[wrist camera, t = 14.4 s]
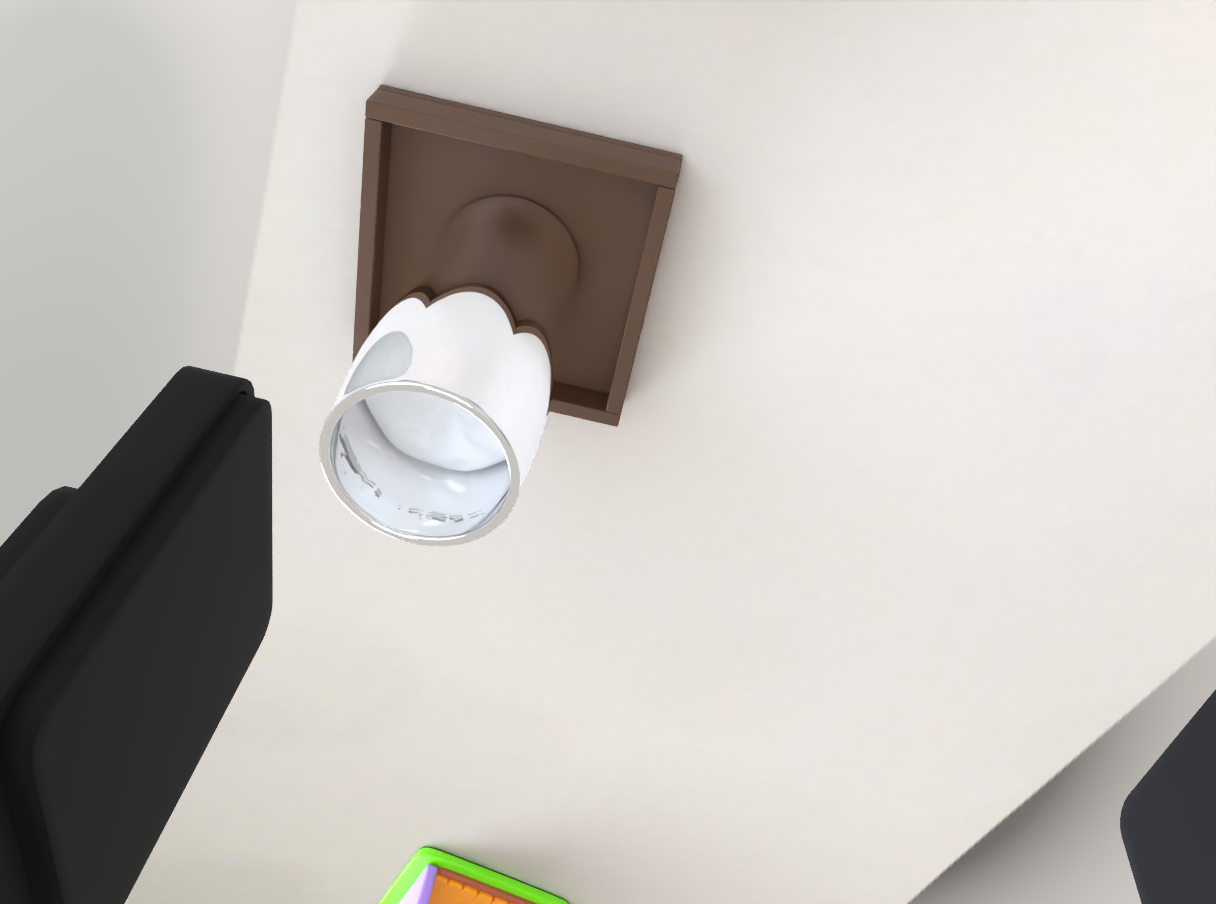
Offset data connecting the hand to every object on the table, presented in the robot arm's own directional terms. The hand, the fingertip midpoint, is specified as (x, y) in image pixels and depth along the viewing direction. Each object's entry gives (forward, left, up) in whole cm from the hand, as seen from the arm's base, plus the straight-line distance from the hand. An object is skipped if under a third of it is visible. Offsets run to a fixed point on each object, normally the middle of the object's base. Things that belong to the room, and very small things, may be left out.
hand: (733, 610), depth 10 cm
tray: (+15, -7, -34) cm, 38 cm away
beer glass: (+15, -7, -34) cm, 38 cm away
